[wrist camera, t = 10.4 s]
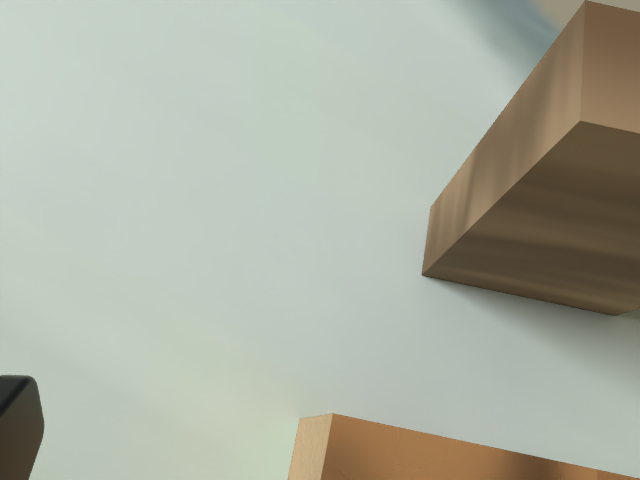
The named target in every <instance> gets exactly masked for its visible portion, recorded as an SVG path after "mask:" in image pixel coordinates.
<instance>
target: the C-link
mask: <svg viewBox="0 0 640 480" xmlns="http://www.w3.org/2000/svg"><path fill="white" fill-rule="evenodd" d="M288 480H640V479H639V478H634V477H629V476H625V475H620V474H615V473H610V472H606V471H601V470H596V469H592V468H587V467H582V466H578V465H573V464H568V463H563V462H559V461H554V460H549V459H545V458H540V457H535V456H531V455H526V454H521V453H516V452H512V451H507V450H502V449H498V448H493V447H488V446H484V445H479V444H474V443H470V442H465V441H460V440H455V439H451V438H446V437H441V436H437V435H432V434H427V433H423V432H418V431H413V430H408V429H404V428H399V427H394V426H390V425H385V424H380V423H376V422H371V421H366V420H361V419H357V418H352V417H347V416H343V415H338V414H333V413H332V414H326V415H320V416H314V417H308V418H302V419H300V421H299V426H298V431H297V436H296V441H295V446H294V451H293V456H292V461H291V466H290V471H289V476H288Z"/></svg>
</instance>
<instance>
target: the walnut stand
mask: <svg viewBox="0 0 640 480" xmlns="http://www.w3.org/2000/svg"><path fill="white" fill-rule="evenodd" d="M422 275H424V276H428V277H433V278H438V279H443V280H447V281H452V282H457V283H461V284H466V285H471V286H476V287H480V288H485V289H490V290H495V291H499V292H504V293H509V294H514V295H518V296H523V297H528V298H533V299H537V300H542V301H547V302H552V303H556V304H561V305H566V306H571V307H575V308H580V309H585V310H590V311H594V312H599V313H604V314H609V315H613V316H616V315H619V314H622V313H625V312H628V311H631V310H635V309H638V308H640V12H636V11H631V10H626V9H622V8H618V7H613V6H609V5H604V4H599V3H595V2H591V1H586V0H585V1H584V3H583V4H582V5H581V7H580V8H579V9H578V11H577V12H576V13H575V15H574V16H573V17H572V19H571V20H570V21H569V23H568V24H567V25H566V27H565V28H564V29H563V31H562V32H561V33H560V35H559V36H558V37H557V39H556V40H555V41H554V43H553V44H552V45H551V47H550V48H549V49H548V51H547V52H546V54H545V55H544V56H543V58H542V59H541V60H540V62H539V63H538V64H537V66H536V67H535V68H534V70H533V71H532V72H531V74H530V75H529V76H528V78H527V79H526V80H525V82H524V83H523V84H522V86H521V87H520V88H519V90H518V91H517V92H516V94H515V95H514V96H513V98H512V99H511V100H510V102H509V103H508V104H507V106H506V107H505V108H504V110H503V111H502V112H501V114H500V115H499V117H498V118H497V119H496V121H495V122H494V123H493V125H492V126H491V127H490V129H489V130H488V131H487V133H486V134H485V135H484V137H483V138H482V139H481V141H480V142H479V143H478V145H477V146H476V147H475V149H474V150H473V151H472V153H471V154H470V155H469V157H468V158H467V159H466V161H465V162H464V163H463V165H462V166H461V167H460V169H459V170H458V171H457V173H456V174H455V175H454V177H453V178H452V180H451V181H450V182H449V184H448V185H447V186H446V188H445V189H444V190H443V192H442V193H441V194H440V196H439V197H438V198H437V200H436V201H435V202H434V204H433V205H432V206H431V210H430V217H429V225H428V232H427V239H426V247H425V254H424V261H423V268H422Z"/></svg>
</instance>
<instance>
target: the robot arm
mask: <svg viewBox="0 0 640 480" xmlns="http://www.w3.org/2000/svg"><path fill="white" fill-rule="evenodd" d="M43 434H44V418H43V413H42V407H41V402H40V396H39V391H38V386H37V383H36V381H35V379H34V378H33V377H31V376H24V375H1V376H0V480H29V477H30V474H31V471H32V468H33V465H34V462H35V459H36V456H37V453H38V450H39V448H40V445H41V442H42V438H43Z"/></svg>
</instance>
